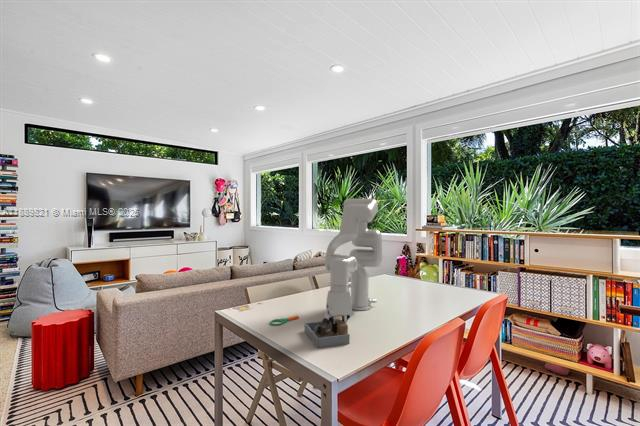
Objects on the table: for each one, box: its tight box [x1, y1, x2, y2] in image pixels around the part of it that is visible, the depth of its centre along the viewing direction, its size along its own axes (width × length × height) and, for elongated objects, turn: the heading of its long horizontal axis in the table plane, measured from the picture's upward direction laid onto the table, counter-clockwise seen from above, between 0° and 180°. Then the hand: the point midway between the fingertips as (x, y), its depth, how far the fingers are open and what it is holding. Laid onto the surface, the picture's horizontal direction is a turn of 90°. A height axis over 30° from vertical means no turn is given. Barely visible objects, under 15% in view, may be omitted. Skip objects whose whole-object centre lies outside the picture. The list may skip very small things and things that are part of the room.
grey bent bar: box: [304, 320, 350, 349], centre depth 128 cm, size 13×18×4 cm
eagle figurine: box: [314, 317, 330, 338], centre depth 131 cm, size 8×7×9 cm
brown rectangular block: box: [329, 316, 349, 336], centre depth 130 cm, size 3×12×6 cm, turn 19°
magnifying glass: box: [269, 314, 300, 327], centre depth 146 cm, size 15×6×2 cm, turn 128°
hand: (338, 331), depth 130 cm, fingers closed on brown rectangular block, 3 cm apart
